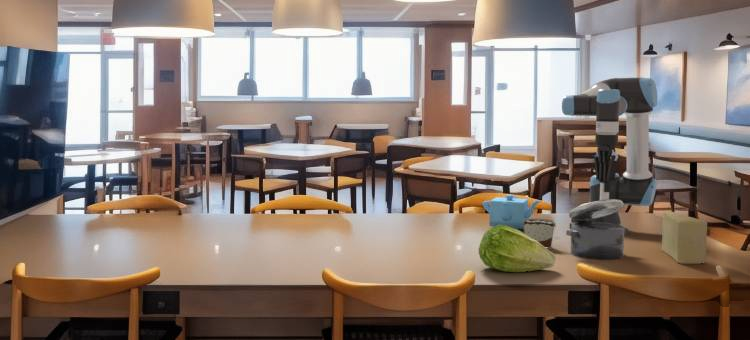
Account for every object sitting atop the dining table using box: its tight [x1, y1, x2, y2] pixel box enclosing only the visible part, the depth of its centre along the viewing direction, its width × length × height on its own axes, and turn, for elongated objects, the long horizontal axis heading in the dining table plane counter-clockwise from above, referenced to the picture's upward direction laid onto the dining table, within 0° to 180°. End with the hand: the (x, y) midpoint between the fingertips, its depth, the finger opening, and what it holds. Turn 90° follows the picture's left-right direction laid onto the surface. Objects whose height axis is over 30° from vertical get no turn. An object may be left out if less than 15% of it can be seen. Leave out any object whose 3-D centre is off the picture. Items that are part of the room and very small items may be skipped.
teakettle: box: [482, 194, 542, 230], centre depth 298 cm, size 19×19×15 cm
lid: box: [568, 199, 625, 223], centre depth 252 cm, size 20×19×4 cm
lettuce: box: [478, 224, 557, 273], centre depth 227 cm, size 15×24×16 cm
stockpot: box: [565, 222, 629, 261], centre depth 252 cm, size 20×23×10 cm
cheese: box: [661, 210, 708, 265], centre depth 247 cm, size 22×10×15 cm, turn 2°
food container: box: [522, 217, 557, 249], centre depth 265 cm, size 12×6×10 cm, turn 71°
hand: (604, 201), depth 246 cm, fingers closed
